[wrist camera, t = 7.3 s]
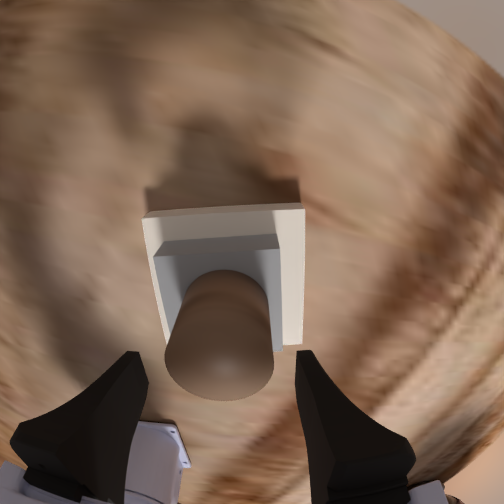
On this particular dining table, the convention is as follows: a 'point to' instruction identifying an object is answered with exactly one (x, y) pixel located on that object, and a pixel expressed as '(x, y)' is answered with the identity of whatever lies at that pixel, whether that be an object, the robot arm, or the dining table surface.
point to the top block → (221, 258)
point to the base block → (240, 224)
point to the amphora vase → (452, 501)
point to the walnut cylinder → (222, 338)
